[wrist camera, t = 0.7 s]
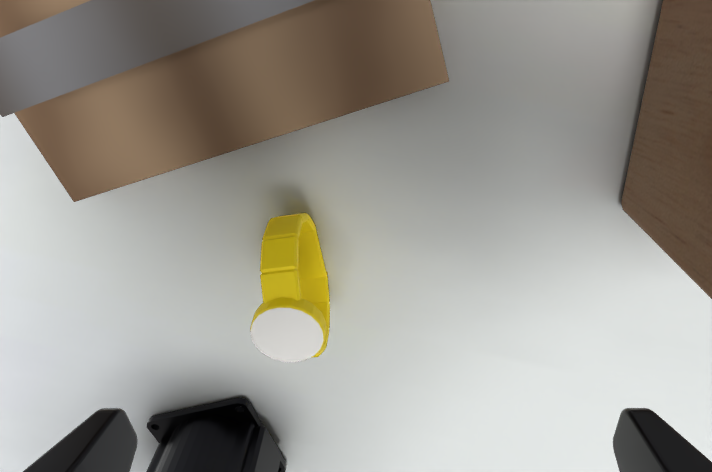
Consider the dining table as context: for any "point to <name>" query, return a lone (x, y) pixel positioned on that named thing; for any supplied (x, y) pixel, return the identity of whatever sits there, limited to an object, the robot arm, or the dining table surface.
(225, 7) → the cradle
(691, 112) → the wooden block
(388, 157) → the dining table surface
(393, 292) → the dining table surface
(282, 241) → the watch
